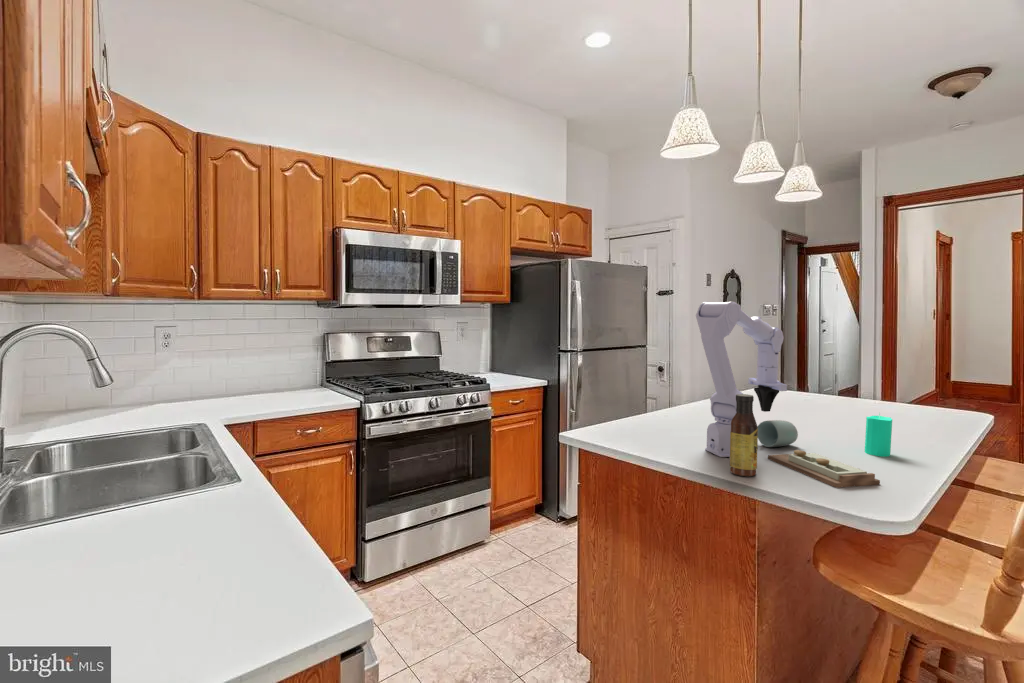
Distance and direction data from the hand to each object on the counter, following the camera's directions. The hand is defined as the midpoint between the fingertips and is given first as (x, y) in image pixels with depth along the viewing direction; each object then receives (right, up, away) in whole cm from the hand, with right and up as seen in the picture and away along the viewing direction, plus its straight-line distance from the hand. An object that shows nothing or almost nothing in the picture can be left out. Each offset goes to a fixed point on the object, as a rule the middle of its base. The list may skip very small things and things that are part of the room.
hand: (765, 411), depth 153 cm
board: (+2, -12, -24) cm, 27 cm away
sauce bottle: (-19, -12, -27) cm, 35 cm away
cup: (+9, -7, +1) cm, 11 cm away
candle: (+28, -11, -8) cm, 31 cm away
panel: (+2, -11, -26) cm, 28 cm away
